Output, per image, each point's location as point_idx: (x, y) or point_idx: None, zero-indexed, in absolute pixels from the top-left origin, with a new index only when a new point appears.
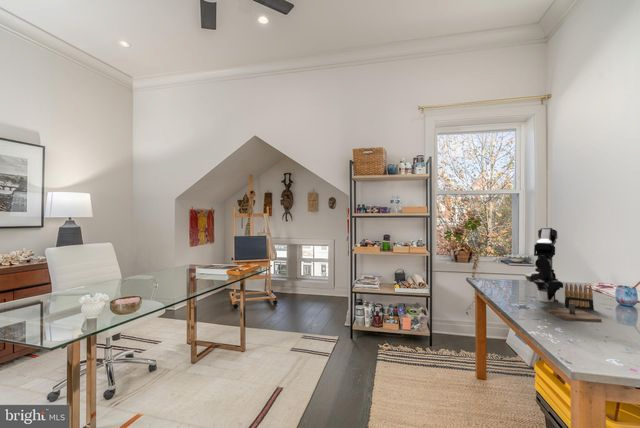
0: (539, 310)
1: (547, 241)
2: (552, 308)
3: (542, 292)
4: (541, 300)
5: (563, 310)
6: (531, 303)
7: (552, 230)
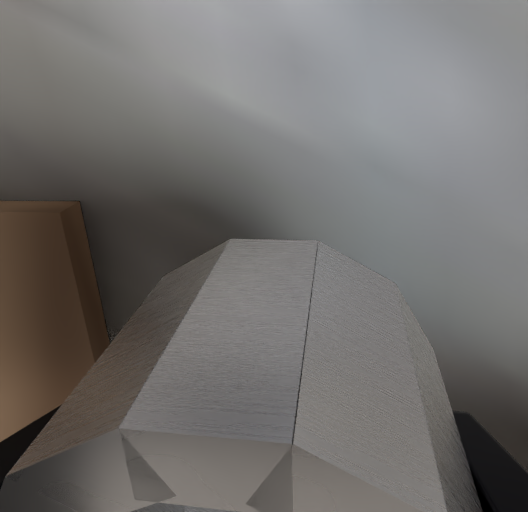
0: (30, 76)
1: None
2: (73, 299)
3: (52, 433)
4: (191, 265)
5: (12, 382)
6: (511, 155)
7: None
